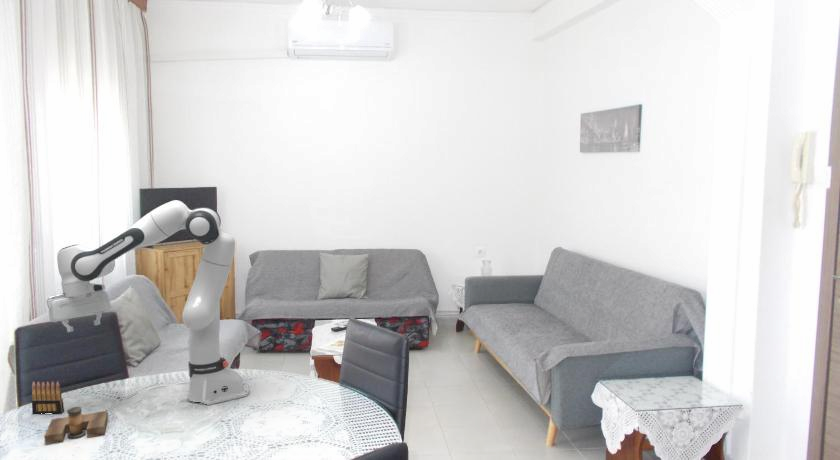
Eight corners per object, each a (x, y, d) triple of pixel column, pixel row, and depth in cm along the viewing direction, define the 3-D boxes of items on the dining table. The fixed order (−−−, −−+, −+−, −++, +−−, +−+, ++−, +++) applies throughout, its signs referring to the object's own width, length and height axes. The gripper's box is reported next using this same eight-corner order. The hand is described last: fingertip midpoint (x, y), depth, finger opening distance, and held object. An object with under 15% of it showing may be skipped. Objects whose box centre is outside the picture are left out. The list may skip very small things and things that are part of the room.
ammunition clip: (32, 414, 225) (29, 382, 224) (35, 412, 227) (32, 380, 225) (61, 414, 225) (58, 382, 223) (64, 412, 226) (61, 380, 225)
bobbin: (86, 431, 210) (84, 405, 209) (84, 437, 205) (82, 411, 204) (69, 433, 208) (66, 407, 207) (66, 440, 203) (64, 413, 202)
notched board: (108, 418, 219) (107, 410, 219) (104, 435, 206) (103, 426, 206) (52, 427, 213) (51, 419, 213) (45, 444, 200) (44, 436, 200)
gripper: (49, 296, 214) (57, 336, 215) (108, 284, 230) (116, 321, 231) (42, 297, 218) (49, 336, 219) (100, 285, 234) (107, 321, 235)
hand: (84, 328), depth 225 cm, fingers open, 8 cm apart
